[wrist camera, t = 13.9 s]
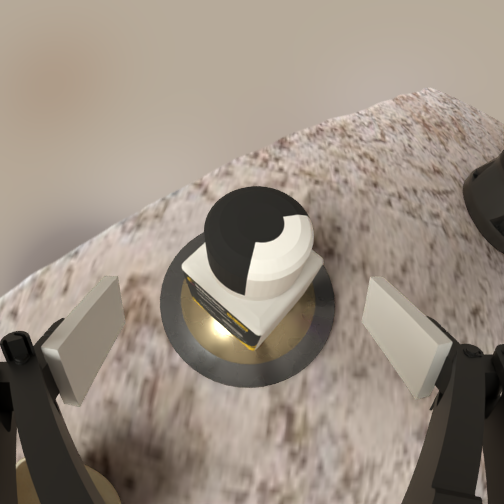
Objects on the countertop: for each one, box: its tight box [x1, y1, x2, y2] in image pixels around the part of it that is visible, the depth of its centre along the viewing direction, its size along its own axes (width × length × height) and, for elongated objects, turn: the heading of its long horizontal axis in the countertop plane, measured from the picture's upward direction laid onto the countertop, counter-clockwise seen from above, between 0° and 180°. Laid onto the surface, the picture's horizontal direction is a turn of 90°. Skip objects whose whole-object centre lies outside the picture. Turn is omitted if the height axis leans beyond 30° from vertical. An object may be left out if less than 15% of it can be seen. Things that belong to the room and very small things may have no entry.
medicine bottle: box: [182, 186, 323, 351], centre depth 21 cm, size 7×7×12 cm
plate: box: [160, 233, 335, 388], centre depth 27 cm, size 16×16×2 cm
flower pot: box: [16, 457, 121, 504], centre depth 15 cm, size 10×10×7 cm
